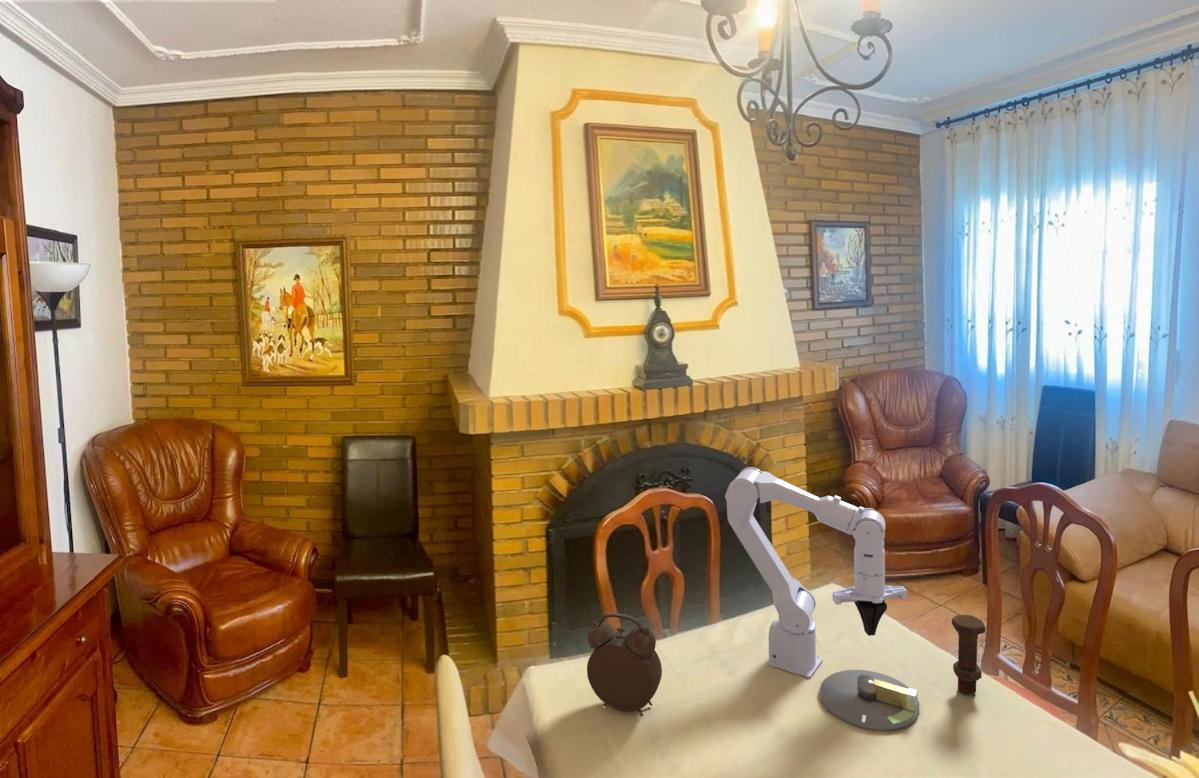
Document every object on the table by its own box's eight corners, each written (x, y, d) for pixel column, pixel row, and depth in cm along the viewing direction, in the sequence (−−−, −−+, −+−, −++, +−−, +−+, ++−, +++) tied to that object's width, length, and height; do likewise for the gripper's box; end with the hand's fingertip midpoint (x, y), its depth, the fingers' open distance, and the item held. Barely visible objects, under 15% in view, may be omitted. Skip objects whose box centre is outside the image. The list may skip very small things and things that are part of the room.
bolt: (986, 701, 126) (988, 629, 124) (957, 699, 127) (959, 627, 125) (975, 683, 132) (977, 613, 130) (948, 682, 133) (949, 612, 131)
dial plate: (806, 709, 127) (806, 704, 127) (837, 664, 141) (837, 659, 141) (906, 744, 116) (906, 738, 116) (928, 692, 130) (929, 686, 130)
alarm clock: (667, 703, 132) (662, 610, 129) (654, 726, 125) (649, 628, 122) (601, 689, 138) (595, 600, 135) (586, 710, 132) (579, 616, 129)
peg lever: (854, 696, 128) (854, 680, 128) (860, 686, 131) (860, 670, 131) (913, 715, 122) (913, 698, 121) (918, 704, 125) (918, 687, 124)
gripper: (841, 581, 128) (842, 646, 130) (914, 576, 129) (914, 640, 131) (828, 566, 135) (829, 628, 137) (897, 561, 136) (897, 622, 138)
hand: (869, 633), depth 135 cm, fingers closed
